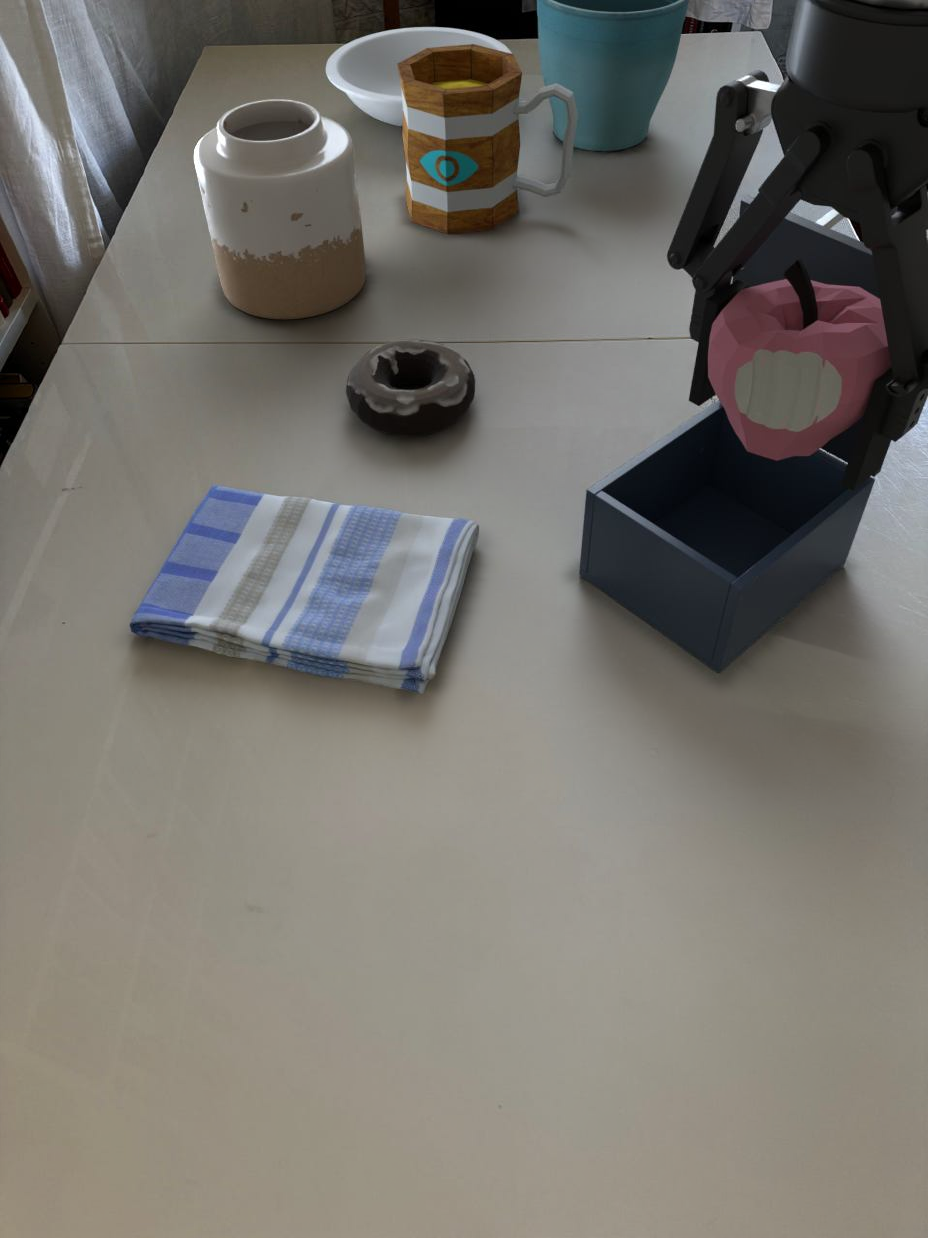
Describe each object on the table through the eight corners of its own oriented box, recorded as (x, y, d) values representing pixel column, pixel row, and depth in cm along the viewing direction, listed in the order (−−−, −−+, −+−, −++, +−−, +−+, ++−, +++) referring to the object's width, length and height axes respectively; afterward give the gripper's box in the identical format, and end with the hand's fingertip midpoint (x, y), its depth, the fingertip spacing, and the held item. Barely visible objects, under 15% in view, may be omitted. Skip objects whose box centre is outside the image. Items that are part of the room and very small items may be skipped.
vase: (396, 273, 110) (383, 112, 98) (293, 338, 103) (264, 172, 90) (296, 230, 117) (272, 74, 104) (192, 288, 109) (153, 126, 97)
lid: (930, 279, 60) (1025, 197, 64) (740, 200, 67) (836, 130, 70) (874, 477, 73) (955, 400, 77) (720, 394, 80) (801, 327, 84)
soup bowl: (381, 67, 147) (377, 16, 142) (539, 91, 141) (541, 39, 136) (298, 138, 133) (290, 84, 128) (470, 168, 126) (469, 112, 121)
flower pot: (685, 111, 136) (705, -36, 123) (659, 173, 124) (678, 17, 112) (551, 96, 140) (557, -48, 127) (514, 155, 128) (516, 3, 116)
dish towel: (432, 704, 72) (430, 679, 70) (124, 645, 77) (114, 620, 74) (488, 536, 83) (488, 510, 81) (217, 493, 88) (210, 467, 86)
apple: (671, 463, 56) (698, 299, 49) (719, 377, 62) (750, 217, 54) (848, 514, 54) (905, 348, 46) (883, 419, 59) (940, 256, 51)
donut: (491, 378, 98) (491, 341, 95) (452, 455, 90) (451, 418, 87) (375, 358, 100) (372, 322, 97) (329, 432, 93) (323, 395, 90)
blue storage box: (718, 674, 74) (740, 590, 67) (578, 575, 80) (585, 489, 74) (844, 565, 80) (875, 479, 74) (705, 482, 87) (722, 396, 81)
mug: (389, 228, 117) (378, 89, 106) (420, 173, 126) (413, 39, 114) (561, 245, 114) (569, 103, 102) (581, 188, 122) (590, 51, 111)
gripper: (623, -64, 44) (586, 376, 61) (1146, 82, 33) (926, 569, 50) (731, -103, 47) (668, 325, 64) (1239, 19, 37) (1003, 496, 53)
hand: (781, 432), depth 57 cm, fingers closed on apple, 9 cm apart
